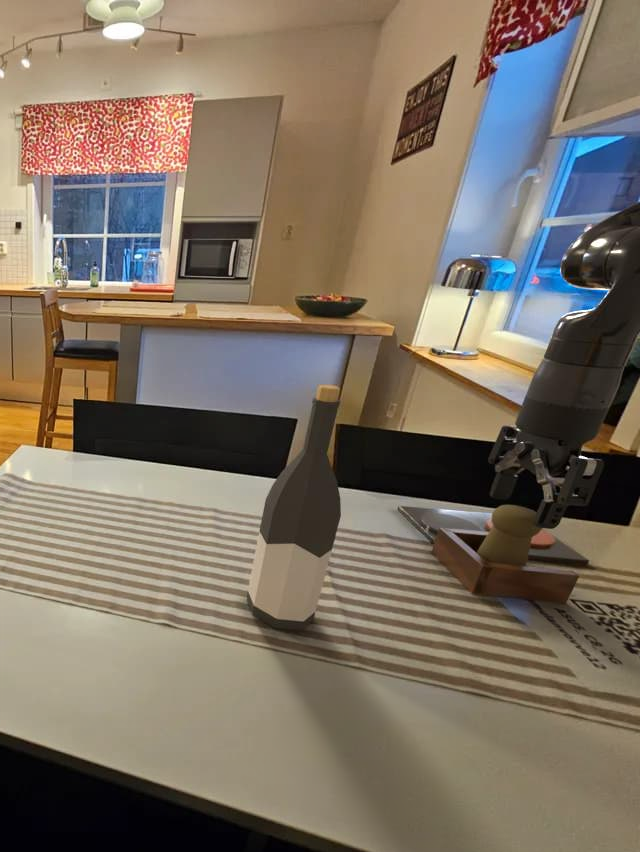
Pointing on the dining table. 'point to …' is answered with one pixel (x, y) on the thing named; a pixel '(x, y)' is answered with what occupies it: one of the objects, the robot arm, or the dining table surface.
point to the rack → (498, 570)
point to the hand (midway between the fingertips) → (519, 511)
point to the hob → (434, 519)
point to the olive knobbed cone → (509, 536)
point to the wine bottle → (298, 527)
